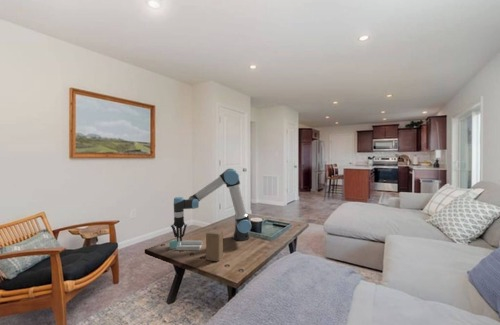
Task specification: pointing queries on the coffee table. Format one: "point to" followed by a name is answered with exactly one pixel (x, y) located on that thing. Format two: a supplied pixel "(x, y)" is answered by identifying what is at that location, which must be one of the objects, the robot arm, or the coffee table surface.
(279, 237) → the coffee table surface
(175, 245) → the teal block
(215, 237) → the wooden block
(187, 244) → the chute
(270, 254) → the coffee table surface
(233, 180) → the robot arm
